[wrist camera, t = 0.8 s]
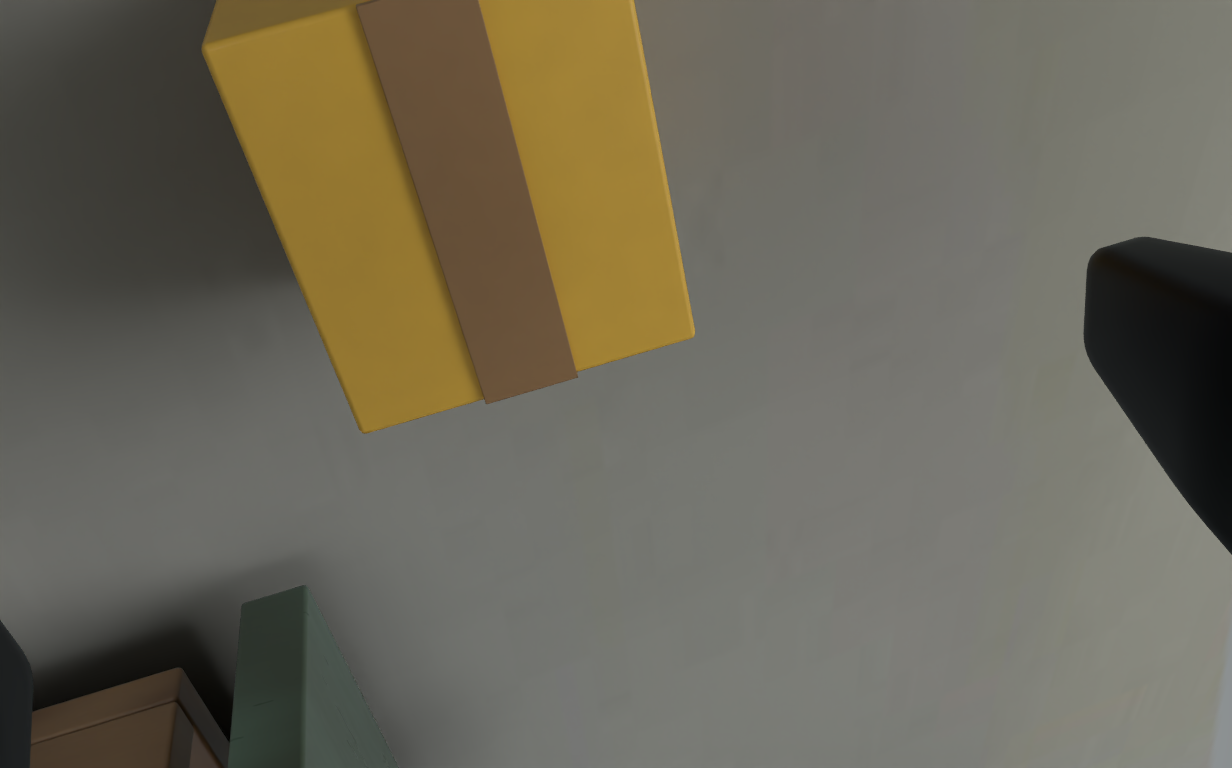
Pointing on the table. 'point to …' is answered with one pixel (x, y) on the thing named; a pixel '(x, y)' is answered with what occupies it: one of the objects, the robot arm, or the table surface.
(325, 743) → the drawer
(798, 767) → the table surface
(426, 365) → the small carton
